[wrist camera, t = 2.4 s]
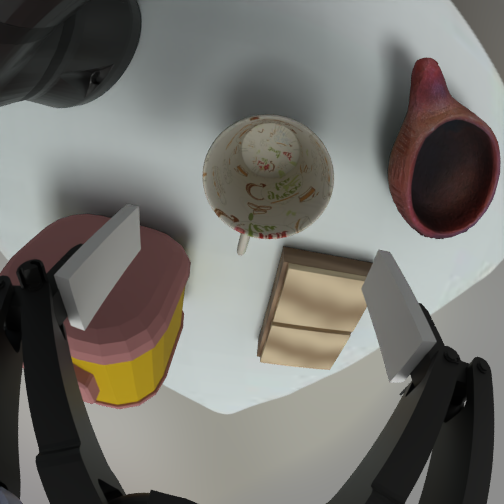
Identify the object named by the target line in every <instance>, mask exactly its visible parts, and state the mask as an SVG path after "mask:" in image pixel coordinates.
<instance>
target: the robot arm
mask: <svg viewBox="0 0 504 504" xmlns="http://www.w3.org/2000/svg"><path fill="white" fill-rule="evenodd" d="M140 29H141V16H140V11H139V7H138V5H137V3H136V1H135V0H0V107H1V106H4V105H8V104H11V103H15V102H19V101H23V100H27V101H31V102H35V103H39V104H43V105H47V106H50V107H55V108H68V107H73V106H78V105H83V104H86V103H89V102H91V101H93V100H95V99H97V98H98V97H100V96H101V95H103V94H104V93H105V92H106V91H108V90H109V89H110V88H111V87H112V86H113V85H114V84H115V83H116V82H117V80H118V79H119V78H120V77H121V75H122V74H123V73H124V71H125V70H126V68H127V66H128V65H129V63H130V61H131V59H132V57H133V55H134V52H135V50H136V47H137V44H138V40H139V36H140ZM140 250H141V243H140V219H139V206H137V205H130V204H127V205H125V206H124V207H123V208H122V209H121V210H120V211H119V212H117V213H116V214H115V215H114V216H113V217H112V218H111V219H110V220H109V221H107V222H106V223H105V224H104V225H103V226H102V227H101V228H100V229H99V230H98V231H97V232H96V233H95V234H94V235H93V236H92V237H90V238H89V239H88V240H87V241H86V242H85V243H84V244H81V243H80V244H78V245H76V246H74V247H72V248H71V249H70V250H69V251H68V252H67V253H66V254H65V256H63V257H62V258H61V259H60V261H58V262H57V263H56V264H55V265H54V266H53V267H52V268H51V269H50V270H49V271H48V272H47V273H46V271H45V267H44V264H43V262H42V261H41V260H37V259H33V260H28V261H26V262H24V263H23V264H21V265H20V266H19V267H18V268H17V271H16V274H17V277H18V280H19V283H20V285H21V286H18V285H12V283H11V280H10V277H8V276H4V275H2V276H0V504H22V502H21V501H20V468H19V451H18V412H19V411H18V410H19V395H20V384H21V375H22V367H23V365H24V375H25V383H26V390H27V396H28V402H29V408H30V413H31V418H32V422H33V427H34V431H35V435H36V439H37V443H38V447H39V454H38V455H37V456H36V465H37V470H38V473H39V476H40V479H41V481H42V484H43V487H44V490H45V492H46V495H47V497H48V500H49V502H50V504H197V503H195V502H193V501H190V500H188V499H186V498H181V497H177V496H173V495H169V494H164V493H161V492H157V491H153V490H151V491H150V493H134V494H128V495H126V494H125V492H124V490H123V489H122V487H121V485H120V483H119V481H118V480H117V478H116V476H115V475H114V473H113V472H112V471H111V469H110V467H109V466H108V464H107V462H106V459H105V457H104V455H103V453H102V450H101V448H100V446H99V443H98V441H97V438H96V436H95V433H94V430H93V428H92V425H91V423H90V420H89V417H88V414H87V411H86V408H85V405H84V402H83V399H82V395H81V392H80V389H79V385H78V382H77V378H76V374H75V370H74V366H73V362H72V358H71V354H70V349H69V344H68V339H67V334H66V329H65V325H64V323H63V322H64V320H65V319H66V318H67V316H68V319H69V322H70V324H71V326H73V327H76V328H79V329H81V330H84V331H85V329H86V328H87V326H88V325H89V323H90V322H91V320H92V318H93V317H94V315H95V314H96V312H97V311H98V309H99V308H100V306H101V305H102V303H103V302H104V300H105V299H106V297H107V296H108V294H109V293H110V291H111V290H112V289H113V287H114V286H115V284H116V283H117V281H118V280H119V278H120V277H121V276H122V274H123V273H124V271H125V270H126V269H127V267H128V266H129V265H130V263H131V262H132V260H133V259H134V258H135V256H136V255H137V254H138V252H139V251H140ZM361 290H362V293H363V295H364V298H365V301H366V304H367V307H368V310H369V313H370V317H371V320H372V323H373V326H374V329H375V332H376V336H377V339H378V342H379V346H380V349H381V353H382V356H383V360H384V364H385V367H386V371H387V375H388V379H389V382H404V381H405V379H406V378H407V377H408V376H409V375H411V378H412V381H411V383H410V384H409V385H408V386H407V387H406V388H405V389H404V390H403V391H402V392H401V393H400V395H402V394H403V393H404V394H403V396H402V398H401V400H400V402H399V404H398V405H397V407H396V409H395V411H394V412H393V414H392V416H391V418H390V419H389V421H388V423H387V424H386V426H385V428H384V429H383V431H382V432H381V434H380V435H379V437H378V439H377V440H376V442H375V443H374V445H373V446H372V448H371V449H370V450H369V452H368V453H367V455H366V456H365V458H364V459H363V460H362V462H361V463H360V465H359V466H358V467H357V469H356V470H355V471H354V473H353V474H352V475H351V476H350V478H349V479H348V480H347V482H346V483H345V484H344V485H343V486H342V488H341V489H340V490H339V492H338V493H337V494H336V495H335V496H334V497H333V498H332V499H331V500H330V501H329V502H328V503H326V504H405V502H406V500H407V498H408V496H409V494H410V493H411V491H412V489H413V487H414V485H415V484H416V482H417V480H418V478H419V476H420V474H421V472H422V470H423V468H424V466H425V464H426V462H427V460H428V458H429V456H430V453H431V451H432V455H431V459H430V464H429V468H428V472H427V476H426V480H425V483H424V488H423V491H422V494H421V498H420V500H419V504H487V499H488V493H489V487H490V480H491V472H492V462H493V449H494V447H493V446H494V400H493V385H492V374H491V369H490V367H489V365H488V363H487V362H486V361H485V360H484V359H482V358H480V357H475V358H474V359H473V360H472V362H471V363H470V364H469V363H466V362H463V361H461V360H460V357H459V355H458V354H457V352H456V351H455V350H454V349H452V348H450V347H448V346H444V343H443V341H442V339H441V337H440V335H439V333H438V331H437V329H436V327H435V326H434V325H435V324H434V322H433V320H431V316H430V314H429V312H428V311H427V309H426V308H425V307H424V306H423V305H422V304H421V303H418V301H417V300H416V298H415V296H414V294H413V292H412V290H411V288H410V286H409V284H408V283H407V281H406V279H405V277H404V275H403V274H402V272H401V270H400V268H399V266H398V265H397V263H396V261H395V260H394V258H393V256H392V254H391V253H390V252H387V251H383V250H378V252H377V255H376V257H375V259H374V262H373V264H372V266H371V268H370V271H369V273H368V275H367V277H366V279H365V282H364V284H363V286H362V288H361ZM465 401H466V404H465V406H464V402H465Z"/></svg>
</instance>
